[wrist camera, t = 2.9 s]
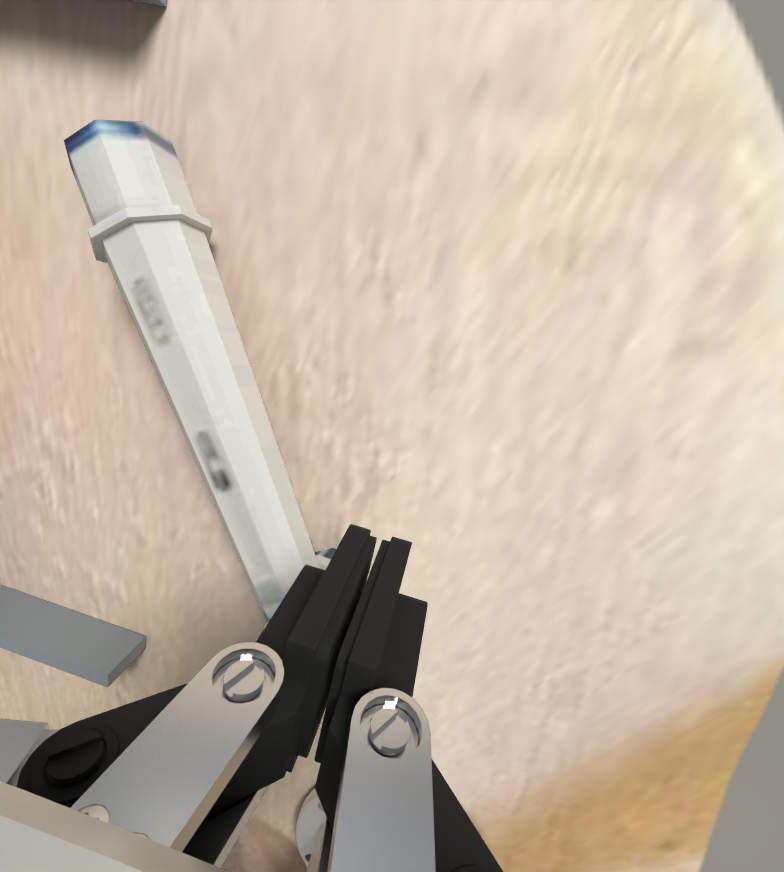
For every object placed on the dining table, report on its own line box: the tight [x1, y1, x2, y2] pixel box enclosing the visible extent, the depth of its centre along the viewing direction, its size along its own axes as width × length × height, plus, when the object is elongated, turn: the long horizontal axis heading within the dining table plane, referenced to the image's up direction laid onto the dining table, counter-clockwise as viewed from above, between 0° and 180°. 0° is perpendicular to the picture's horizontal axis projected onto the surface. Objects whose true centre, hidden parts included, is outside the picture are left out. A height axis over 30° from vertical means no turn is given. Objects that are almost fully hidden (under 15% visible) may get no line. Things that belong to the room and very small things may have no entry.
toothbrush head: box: [64, 120, 369, 630], centre depth 19 cm, size 5×7×25 cm
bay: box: [0, 0, 166, 687], centre depth 21 cm, size 34×12×3 cm, turn 167°
